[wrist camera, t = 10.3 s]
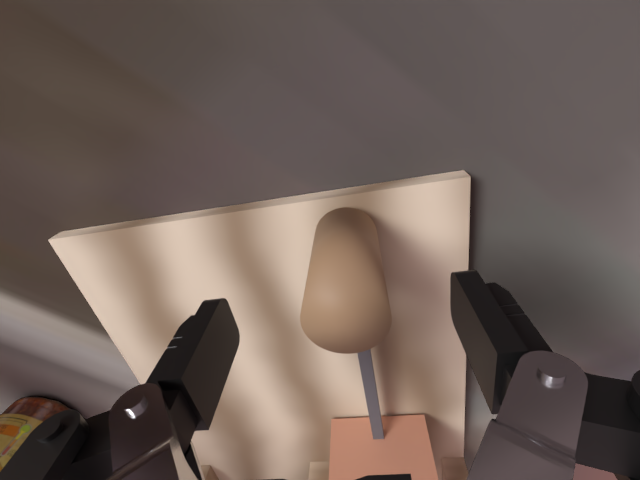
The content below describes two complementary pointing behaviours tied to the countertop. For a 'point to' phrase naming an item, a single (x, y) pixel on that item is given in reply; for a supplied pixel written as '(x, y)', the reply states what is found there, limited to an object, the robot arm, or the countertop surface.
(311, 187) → the countertop surface
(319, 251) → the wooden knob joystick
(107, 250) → the wooden backboard
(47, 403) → the sauce bottle
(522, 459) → the robot arm
